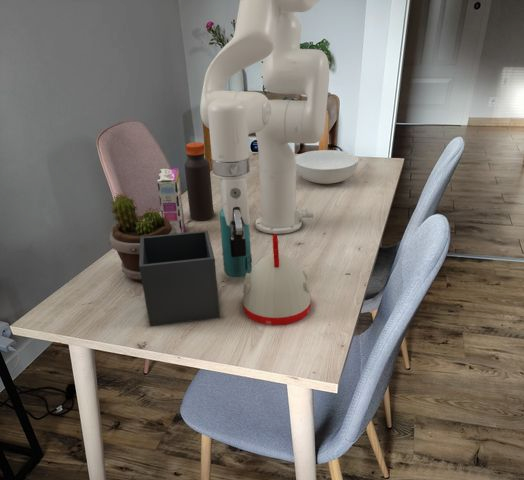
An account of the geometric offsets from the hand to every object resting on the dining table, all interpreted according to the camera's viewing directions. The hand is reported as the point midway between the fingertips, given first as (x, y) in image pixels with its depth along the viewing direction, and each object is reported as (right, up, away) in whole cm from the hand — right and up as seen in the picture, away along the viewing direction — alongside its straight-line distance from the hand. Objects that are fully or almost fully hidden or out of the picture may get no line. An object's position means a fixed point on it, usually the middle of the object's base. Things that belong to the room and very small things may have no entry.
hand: (236, 248), depth 118 cm
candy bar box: (-17, +8, +25) cm, 32 cm away
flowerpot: (-21, -5, +7) cm, 22 cm away
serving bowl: (+27, +34, +60) cm, 74 cm away
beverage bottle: (0, -6, +4) cm, 7 cm away
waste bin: (-11, -13, -5) cm, 18 cm away
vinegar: (-12, +16, +36) cm, 41 cm away
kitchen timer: (+9, -14, -7) cm, 18 cm away
